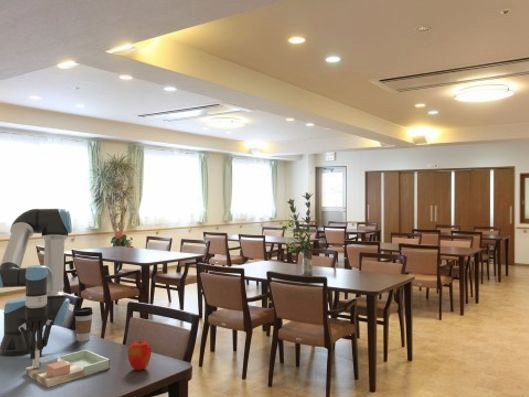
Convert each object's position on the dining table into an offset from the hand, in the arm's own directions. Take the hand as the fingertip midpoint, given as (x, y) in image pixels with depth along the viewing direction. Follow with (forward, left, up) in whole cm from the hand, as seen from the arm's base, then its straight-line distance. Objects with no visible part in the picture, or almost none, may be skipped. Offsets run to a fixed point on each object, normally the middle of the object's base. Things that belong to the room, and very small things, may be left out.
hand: (35, 366), depth 178 cm
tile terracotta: (+10, +4, -1) cm, 11 cm away
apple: (+25, +30, -4) cm, 39 cm away
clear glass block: (0, +4, -1) cm, 4 cm away
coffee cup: (-29, +35, -4) cm, 46 cm away
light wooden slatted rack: (+5, +5, -4) cm, 8 cm away
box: (+5, +17, -4) cm, 19 cm away
